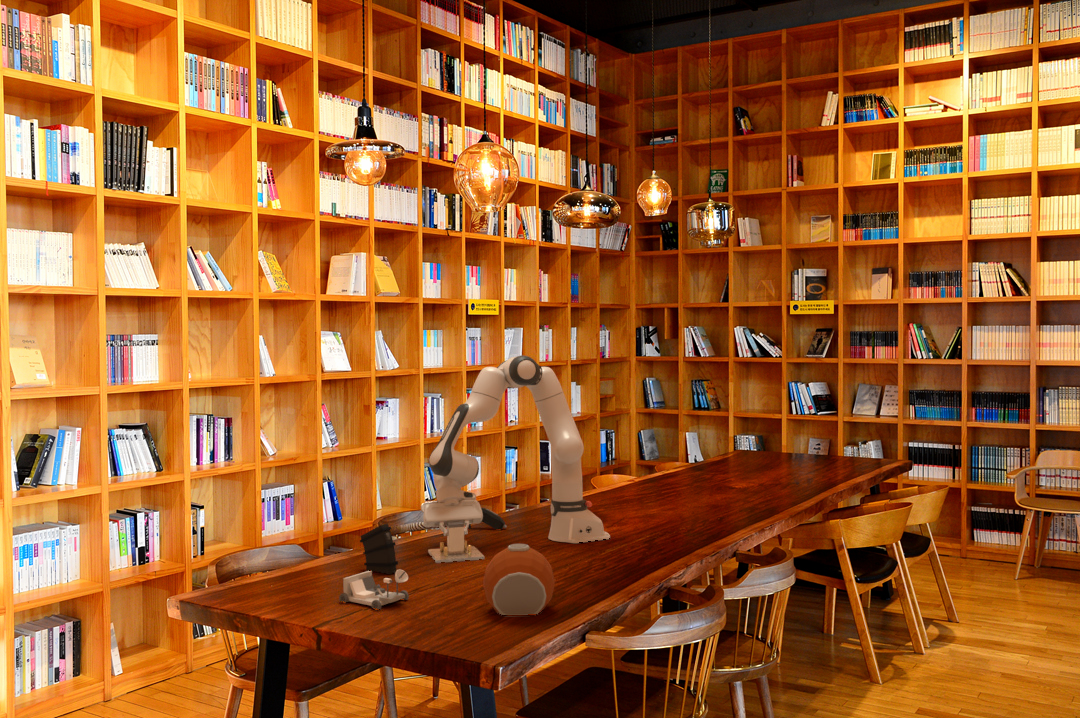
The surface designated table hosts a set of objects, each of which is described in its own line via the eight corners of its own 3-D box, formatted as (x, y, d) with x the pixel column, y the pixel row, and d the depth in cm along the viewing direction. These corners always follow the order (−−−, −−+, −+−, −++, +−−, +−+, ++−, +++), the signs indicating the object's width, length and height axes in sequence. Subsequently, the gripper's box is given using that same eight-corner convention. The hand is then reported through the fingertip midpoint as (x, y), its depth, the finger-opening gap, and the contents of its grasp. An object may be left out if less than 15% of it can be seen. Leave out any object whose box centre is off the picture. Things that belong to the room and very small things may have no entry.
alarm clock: (553, 600, 246) (553, 537, 246) (556, 619, 229) (556, 552, 229) (484, 601, 246) (483, 538, 246) (482, 621, 228) (481, 553, 228)
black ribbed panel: (396, 571, 273) (380, 525, 277) (369, 584, 280) (355, 538, 284) (404, 568, 276) (389, 522, 280) (378, 581, 283) (363, 536, 287)
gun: (497, 544, 340) (508, 522, 339) (460, 524, 343) (471, 501, 342) (498, 543, 343) (510, 520, 342) (462, 522, 346) (473, 500, 345)
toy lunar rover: (415, 567, 246) (386, 577, 236) (416, 603, 246) (386, 613, 237) (368, 559, 256) (338, 568, 246) (369, 593, 256) (339, 603, 247)
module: (461, 548, 302) (461, 521, 302) (464, 550, 298) (463, 523, 298) (447, 549, 301) (446, 522, 301) (449, 551, 297) (449, 524, 297)
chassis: (473, 548, 309) (473, 537, 309) (484, 559, 294) (484, 547, 294) (428, 552, 305) (427, 540, 305) (436, 563, 290) (436, 550, 289)
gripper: (421, 496, 303) (426, 531, 294) (479, 493, 309) (486, 526, 300) (419, 507, 307) (424, 541, 298) (477, 503, 313) (483, 537, 304)
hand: (456, 534), depth 299 cm, fingers closed on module, 5 cm apart
